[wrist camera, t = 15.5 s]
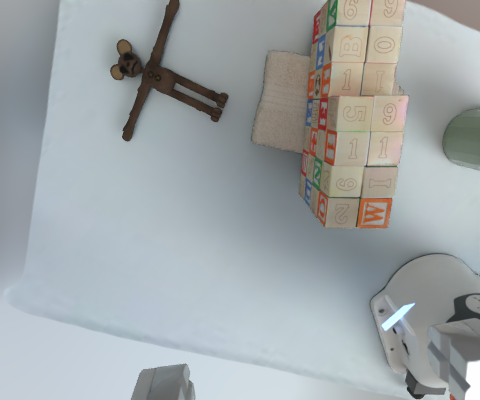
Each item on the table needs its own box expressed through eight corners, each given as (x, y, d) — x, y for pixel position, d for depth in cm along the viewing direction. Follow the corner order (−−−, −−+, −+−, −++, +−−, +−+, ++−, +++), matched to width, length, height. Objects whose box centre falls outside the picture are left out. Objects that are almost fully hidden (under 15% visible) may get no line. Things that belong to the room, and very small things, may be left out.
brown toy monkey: (195, 174, 40) (82, 127, 37) (196, 167, 44) (94, 124, 41) (255, 36, 36) (132, -32, 32) (249, 42, 40) (140, -18, 36)
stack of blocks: (312, 15, 35) (352, -33, 23) (366, 17, 35) (433, -30, 24) (298, 195, 41) (324, 229, 29) (344, 196, 41) (389, 230, 30)
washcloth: (371, 168, 44) (382, 172, 41) (248, 144, 42) (249, 146, 39) (400, 80, 40) (413, 78, 37) (266, 50, 39) (269, 46, 36)
